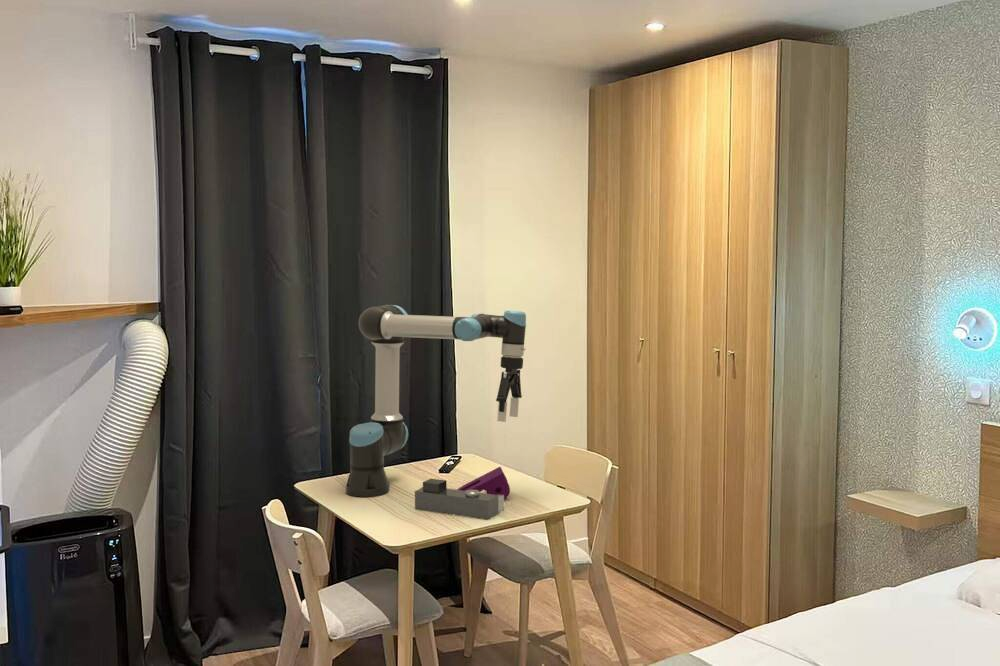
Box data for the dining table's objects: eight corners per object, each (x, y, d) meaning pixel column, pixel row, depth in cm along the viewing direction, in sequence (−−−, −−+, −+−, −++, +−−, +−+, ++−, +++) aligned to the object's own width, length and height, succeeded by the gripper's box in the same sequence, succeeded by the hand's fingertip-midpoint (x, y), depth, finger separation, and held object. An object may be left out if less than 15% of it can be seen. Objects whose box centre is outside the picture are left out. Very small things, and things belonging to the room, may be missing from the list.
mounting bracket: (466, 519, 295) (513, 494, 295) (454, 497, 294) (502, 473, 294) (464, 511, 304) (511, 487, 305) (453, 490, 303) (500, 466, 304)
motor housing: (415, 509, 287) (414, 482, 286) (432, 500, 296) (432, 474, 295) (488, 519, 274) (488, 491, 274) (504, 510, 284) (503, 482, 283)
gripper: (512, 359, 283) (507, 424, 284) (532, 355, 306) (528, 415, 307) (490, 357, 285) (485, 422, 286) (512, 353, 309) (508, 413, 310)
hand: (507, 419), depth 297 cm, fingers open, 13 cm apart
